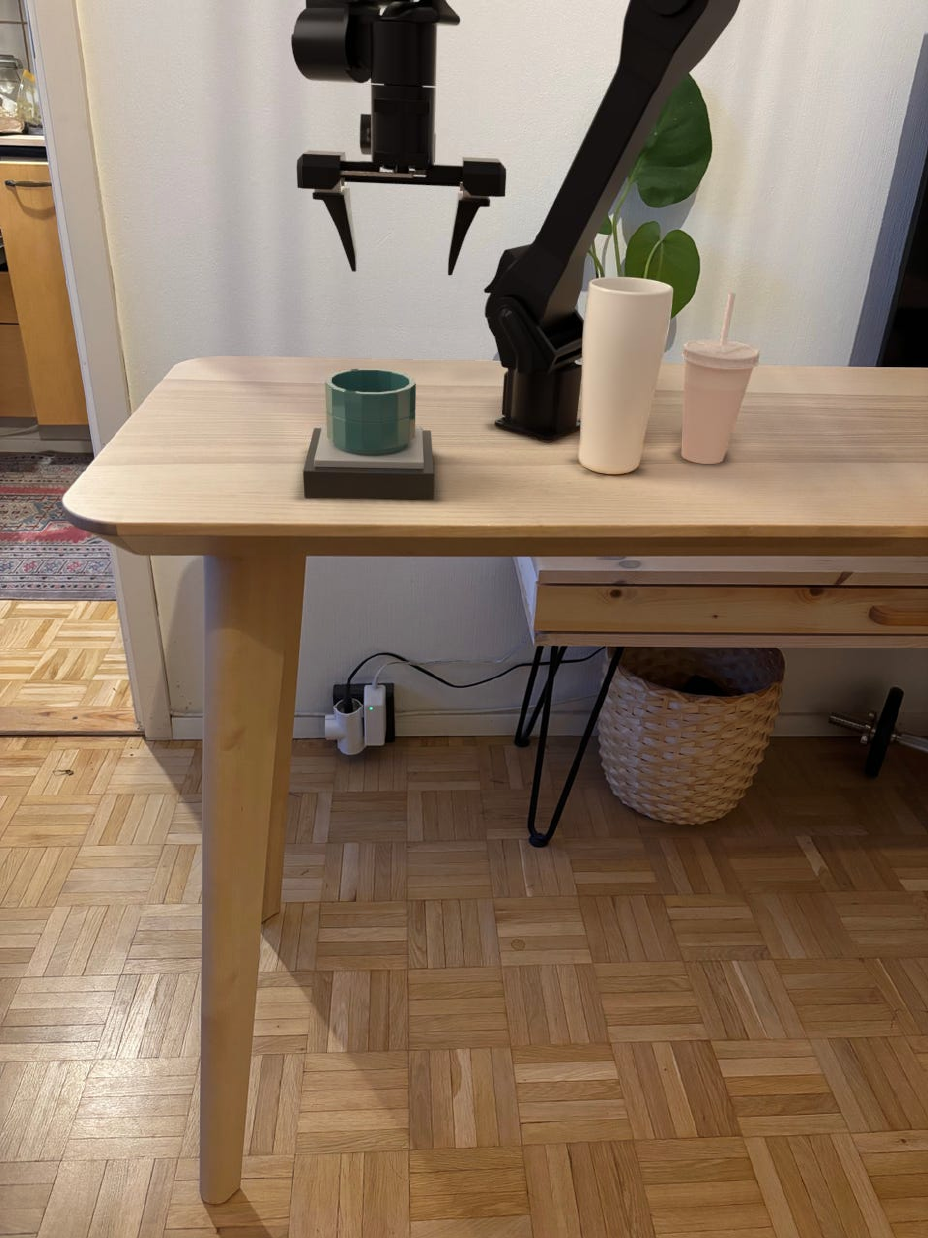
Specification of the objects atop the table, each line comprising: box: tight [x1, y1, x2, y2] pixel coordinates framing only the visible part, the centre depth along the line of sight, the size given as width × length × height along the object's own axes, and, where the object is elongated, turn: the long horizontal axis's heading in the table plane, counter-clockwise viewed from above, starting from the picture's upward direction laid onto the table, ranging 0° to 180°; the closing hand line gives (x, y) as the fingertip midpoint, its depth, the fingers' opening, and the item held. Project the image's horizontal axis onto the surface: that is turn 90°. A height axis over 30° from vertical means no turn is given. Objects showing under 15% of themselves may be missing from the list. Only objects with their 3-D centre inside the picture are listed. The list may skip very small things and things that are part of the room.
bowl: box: [324, 367, 417, 455], centre depth 73 cm, size 7×7×5 cm
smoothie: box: [680, 292, 761, 465], centre depth 79 cm, size 6×6×14 cm
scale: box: [302, 423, 435, 500], centre depth 75 cm, size 10×10×3 cm
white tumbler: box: [577, 276, 674, 475], centre depth 76 cm, size 7×7×15 cm
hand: (402, 272), depth 89 cm, fingers open, 9 cm apart
